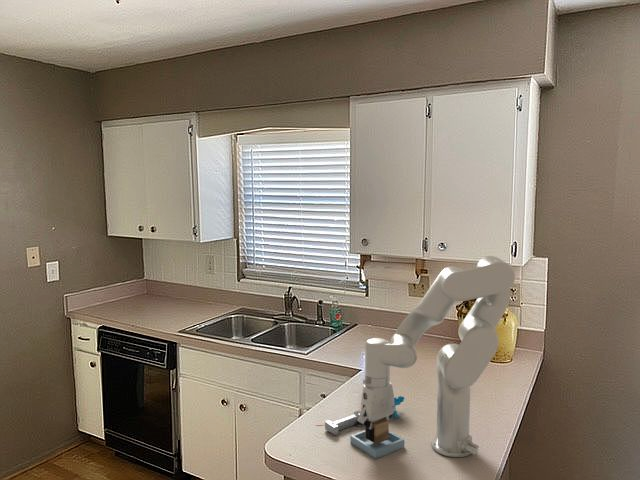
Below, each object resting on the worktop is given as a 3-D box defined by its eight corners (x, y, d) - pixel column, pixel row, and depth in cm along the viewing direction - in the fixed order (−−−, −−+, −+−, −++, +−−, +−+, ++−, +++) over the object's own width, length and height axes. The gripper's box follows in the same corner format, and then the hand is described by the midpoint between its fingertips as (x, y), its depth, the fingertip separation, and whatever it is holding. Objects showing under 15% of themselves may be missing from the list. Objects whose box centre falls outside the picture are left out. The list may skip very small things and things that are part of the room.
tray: (404, 447, 159) (404, 439, 159) (375, 459, 152) (375, 451, 152) (378, 432, 169) (378, 424, 168) (350, 443, 162) (350, 435, 162)
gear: (398, 402, 187) (406, 391, 179) (405, 418, 184) (414, 407, 176) (370, 412, 183) (378, 401, 175) (378, 428, 180) (385, 418, 172)
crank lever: (360, 416, 179) (360, 409, 178) (370, 421, 175) (370, 414, 174) (325, 429, 170) (324, 421, 170) (334, 435, 166) (334, 427, 166)
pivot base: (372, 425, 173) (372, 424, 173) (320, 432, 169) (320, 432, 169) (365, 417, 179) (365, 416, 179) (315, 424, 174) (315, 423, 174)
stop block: (388, 439, 160) (388, 420, 159) (376, 444, 157) (376, 425, 156) (377, 432, 164) (377, 414, 163) (365, 437, 161) (365, 419, 160)
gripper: (363, 390, 150) (363, 450, 152) (406, 377, 160) (405, 433, 162) (347, 382, 156) (347, 440, 158) (389, 369, 166) (388, 424, 168)
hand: (376, 436), depth 160 cm, fingers closed on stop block, 4 cm apart
